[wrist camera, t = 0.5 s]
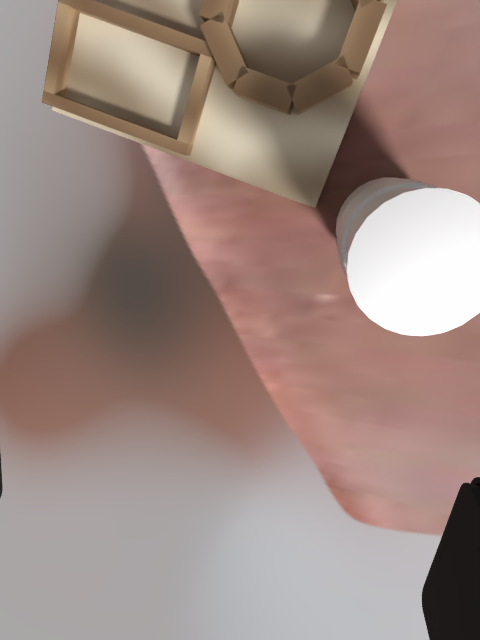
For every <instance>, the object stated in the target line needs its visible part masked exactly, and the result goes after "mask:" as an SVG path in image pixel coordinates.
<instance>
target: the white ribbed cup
mask: <svg viewBox="0 0 480 640" xmlns="http://www.w3.org/2000/svg"><path fill="white" fill-rule="evenodd" d="M336 235H337V240H336V244H337V249H338V254H339V258H340V263H341V266H342V268H343V270H344V272H345V274H346V276H347V278H348V283H349V288H350V291H351V293H352V295H353V297H354V299H355V301H356V303H357V305H358V306H359V308H360V309H361V310H362V311H363V312H364V313H365V314H366V315H367V316H368V318H369V319H371V320H372V321H374V322H375V323H377V324H378V325H380V326H382V327H383V328H385V329H387V330H390V331H393V332H396V333H399V334H402V335H413V336H427V335H433V334H439V333H444V332H446V331H449V330H451V329H454V328H456V327H458V326H461V325H463V324H464V323H465V322H467V321H468V320H470V319H471V318H473V317H474V316H475V315H477V314H478V313H479V312H480V203H478V202H477V201H475V200H474V199H472V198H471V197H469V196H468V195H466V194H463V193H459V192H456V191H453V190H449V189H446V188H437V187H436V186H433V185H429V184H426V183H423V182H420V181H415V180H410V179H400V178H389V177H383V178H379V179H375V180H371V181H369V182H367V183H365V184H363V185H361V186H359V187H358V188H357V189H356V190H355V191H353V192H352V193H351V194H350V195H349V196H348V197H347V199H346V200H345V202H344V203H343V205H342V206H341V209H340V211H339V214H338V217H337V223H336Z"/></svg>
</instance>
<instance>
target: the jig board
mask: <svg viewBox="0 0 480 640" xmlns="http://www.w3.org/2000/svg"><path fill="white" fill-rule="evenodd" d="M396 2H397V0H58V5H57V12H56V18H55V24H54V31H53V36H52V42H51V49H50V55H49V61H48V67H47V74H46V80H45V86H44V92H43V98H42V103H45V104H48V105H50V106H53V108H52V110H53V111H55V112H58V113H61V114H64V115H66V116H69V117H72V118H74V119H77V120H80V121H83V122H85V123H88V124H91V125H93V126H96V127H99V128H101V129H104V130H106V131H109V132H112V133H115V134H117V135H120V136H123V137H125V138H128V139H131V140H133V141H136V142H139V143H141V144H144V145H147V146H149V147H152V148H155V149H157V150H160V151H163V152H166V153H168V154H171V155H174V156H176V157H179V158H182V159H184V160H187V161H190V162H192V163H195V164H198V165H200V166H203V167H206V168H209V169H211V170H214V171H217V172H219V173H222V174H225V175H227V176H230V177H233V178H235V179H238V180H241V181H243V182H246V183H249V184H252V185H254V186H257V187H260V188H262V189H265V190H268V191H270V192H273V193H276V194H278V195H281V196H284V197H286V198H289V199H292V200H294V201H297V202H300V203H303V204H305V205H308V206H311V207H313V208H315V207H316V205H317V202H318V199H319V197H320V194H321V192H322V189H323V187H324V184H325V182H326V179H327V177H328V174H329V172H330V169H331V167H332V164H333V162H334V159H335V157H336V154H337V151H338V149H339V146H340V144H341V141H342V139H343V136H344V134H345V131H346V129H347V126H348V124H349V121H350V119H351V116H352V114H353V111H354V109H355V106H356V103H357V101H358V98H359V96H360V93H361V91H362V88H363V86H364V83H365V81H366V78H367V76H368V73H369V71H370V68H371V66H372V63H373V61H374V58H375V55H376V53H377V50H378V48H379V45H380V43H381V40H382V38H383V35H384V33H385V30H386V28H387V25H388V23H389V20H390V18H391V15H392V13H393V10H394V7H395V5H396Z"/></svg>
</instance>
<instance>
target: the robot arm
mask: <svg viewBox="0 0 480 640" xmlns="http://www.w3.org/2000/svg"><path fill="white" fill-rule="evenodd" d="M1 494H2V473H1V456H0V497H1ZM422 607H423V613H424V617H425V621H426V625H427V630H428V634H429V638H430V640H480V477H477V478H474V479H473V480H472V482H471V484H470V483H463V484H462V485H461V487H460V490H459V492H458V495H457V498H456V500H455V503H454V506H453V508H452V511H451V514H450V517H449V519H448V522H447V525H446V527H445V530H444V533H443V535H442V538H441V541H440V544H439V546H438V549H437V552H436V554H435V557H434V560H433V562H432V565H431V568H430V570H429V573H428V576H427V579H426V581H425V584H424V587H423V592H422Z"/></svg>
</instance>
